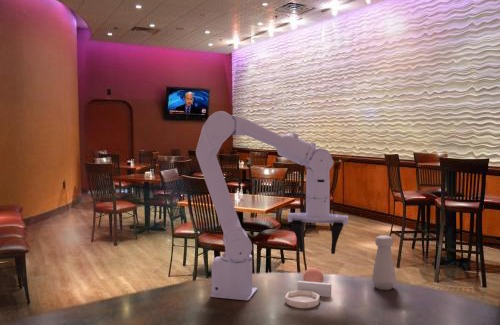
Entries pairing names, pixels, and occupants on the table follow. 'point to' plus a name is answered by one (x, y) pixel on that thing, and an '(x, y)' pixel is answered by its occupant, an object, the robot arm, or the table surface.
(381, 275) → the salt shaker
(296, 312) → the table surface
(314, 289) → the wall
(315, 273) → the ball
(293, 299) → the coaster
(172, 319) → the table surface
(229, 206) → the robot arm
